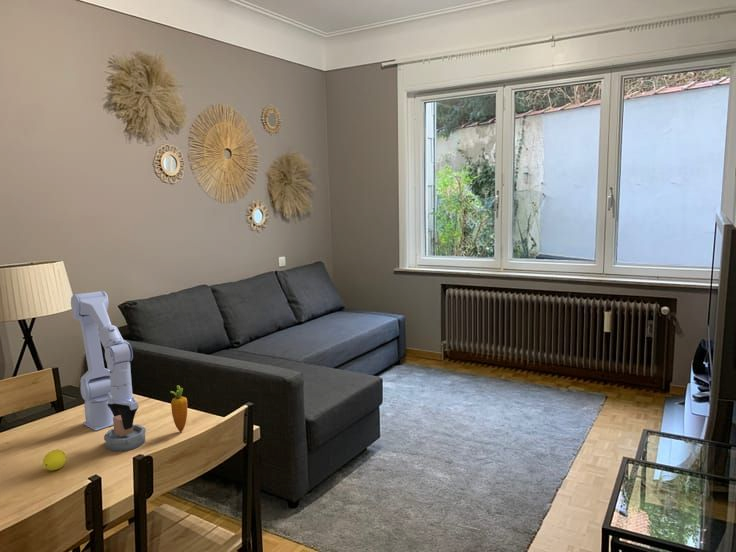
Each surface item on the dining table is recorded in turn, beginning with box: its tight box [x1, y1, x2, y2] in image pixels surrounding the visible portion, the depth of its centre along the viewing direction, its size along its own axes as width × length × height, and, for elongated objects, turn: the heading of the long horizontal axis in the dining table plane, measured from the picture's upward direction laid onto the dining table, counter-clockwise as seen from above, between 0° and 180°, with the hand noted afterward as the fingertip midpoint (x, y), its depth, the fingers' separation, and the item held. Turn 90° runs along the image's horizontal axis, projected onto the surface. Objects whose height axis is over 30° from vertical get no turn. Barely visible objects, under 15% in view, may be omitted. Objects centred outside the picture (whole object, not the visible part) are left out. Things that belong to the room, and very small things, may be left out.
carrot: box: [169, 385, 188, 433], centre depth 172 cm, size 5×5×15 cm
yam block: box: [112, 415, 134, 436], centre depth 165 cm, size 4×4×5 cm
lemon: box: [42, 449, 67, 471], centre depth 150 cm, size 7×5×5 cm
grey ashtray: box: [103, 423, 147, 453], centre depth 166 cm, size 11×11×4 cm
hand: (124, 426), depth 165 cm, fingers closed on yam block, 4 cm apart
